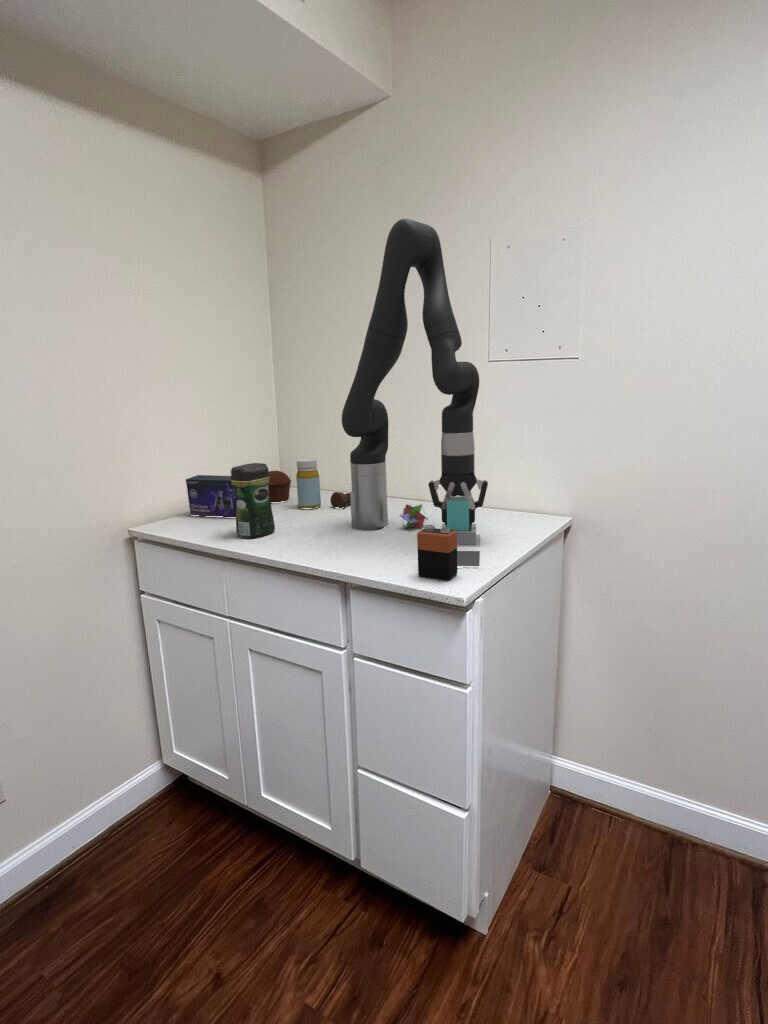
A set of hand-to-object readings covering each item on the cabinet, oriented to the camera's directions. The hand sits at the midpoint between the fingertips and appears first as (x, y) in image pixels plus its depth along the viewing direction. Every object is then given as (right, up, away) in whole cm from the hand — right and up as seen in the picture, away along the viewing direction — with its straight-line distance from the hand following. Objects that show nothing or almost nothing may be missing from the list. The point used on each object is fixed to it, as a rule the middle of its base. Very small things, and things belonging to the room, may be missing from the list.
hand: (458, 524), depth 135 cm
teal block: (0, -4, +1) cm, 4 cm away
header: (0, -4, +1) cm, 4 cm away
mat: (-2, -7, -12) cm, 15 cm away
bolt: (-27, +5, +49) cm, 56 cm away
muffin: (-54, +6, +58) cm, 79 cm away
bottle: (-41, +4, +46) cm, 61 cm away
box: (-67, +1, +40) cm, 78 cm away
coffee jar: (-51, -3, +16) cm, 54 cm away
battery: (-7, -10, -21) cm, 25 cm away
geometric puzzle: (-10, -2, +15) cm, 18 cm away
